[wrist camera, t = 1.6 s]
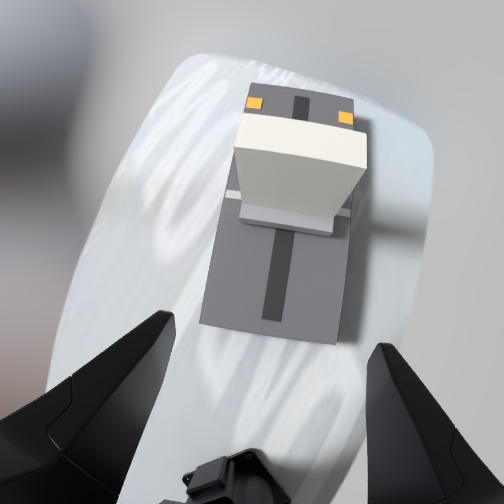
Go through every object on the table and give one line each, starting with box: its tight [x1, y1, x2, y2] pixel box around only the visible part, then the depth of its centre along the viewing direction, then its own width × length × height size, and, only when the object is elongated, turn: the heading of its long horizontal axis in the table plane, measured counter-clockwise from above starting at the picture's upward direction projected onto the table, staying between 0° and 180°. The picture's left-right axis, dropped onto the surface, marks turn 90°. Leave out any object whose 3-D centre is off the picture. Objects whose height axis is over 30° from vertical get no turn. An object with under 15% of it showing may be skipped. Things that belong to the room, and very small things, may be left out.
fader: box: [234, 113, 367, 237], centre depth 17 cm, size 4×6×8 cm, turn 80°
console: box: [199, 83, 354, 345], centre depth 22 cm, size 20×9×3 cm, turn 170°
